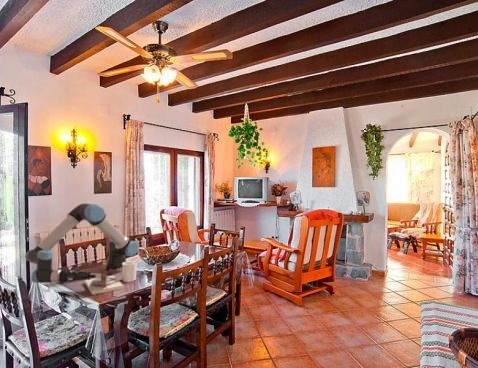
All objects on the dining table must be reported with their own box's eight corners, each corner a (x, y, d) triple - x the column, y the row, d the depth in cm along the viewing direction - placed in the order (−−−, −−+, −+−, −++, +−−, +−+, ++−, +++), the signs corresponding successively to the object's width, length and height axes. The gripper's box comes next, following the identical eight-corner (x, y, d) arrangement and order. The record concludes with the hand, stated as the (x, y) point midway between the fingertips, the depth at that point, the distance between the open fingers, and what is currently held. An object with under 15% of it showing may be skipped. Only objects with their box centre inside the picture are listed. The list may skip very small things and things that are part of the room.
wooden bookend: (91, 280, 191) (92, 257, 191) (114, 277, 197) (115, 255, 197) (91, 290, 173) (91, 265, 173) (116, 287, 179) (116, 263, 179)
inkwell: (64, 277, 201) (65, 263, 201) (93, 273, 212) (93, 260, 212) (65, 281, 194) (66, 266, 194) (95, 277, 204) (95, 263, 204)
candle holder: (118, 280, 198) (119, 263, 198) (131, 276, 206) (131, 260, 206) (127, 283, 193) (127, 265, 193) (139, 279, 201) (140, 262, 201)
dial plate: (113, 278, 202) (113, 275, 202) (123, 288, 183) (123, 285, 183) (84, 283, 191) (84, 280, 191) (92, 294, 172) (92, 291, 172)
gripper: (66, 278, 183) (105, 278, 185) (55, 285, 170) (97, 285, 173) (66, 266, 183) (105, 266, 186) (55, 273, 170) (97, 272, 173)
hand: (101, 275), depth 179 cm, fingers closed
